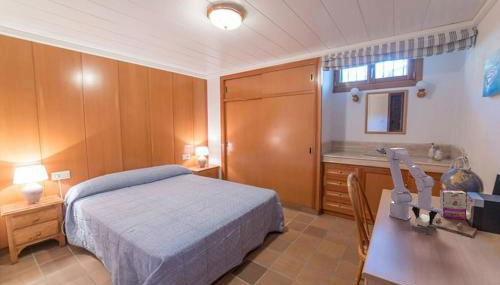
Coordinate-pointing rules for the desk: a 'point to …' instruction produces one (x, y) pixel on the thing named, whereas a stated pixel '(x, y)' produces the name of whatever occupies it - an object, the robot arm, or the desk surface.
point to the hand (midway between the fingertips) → (424, 222)
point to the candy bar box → (453, 204)
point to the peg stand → (454, 227)
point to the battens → (424, 229)
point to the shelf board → (422, 220)
